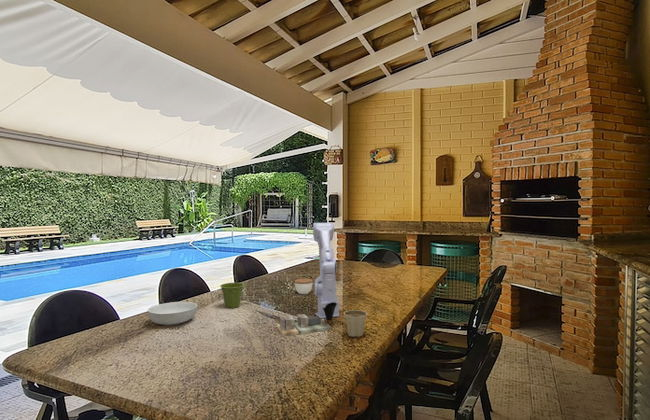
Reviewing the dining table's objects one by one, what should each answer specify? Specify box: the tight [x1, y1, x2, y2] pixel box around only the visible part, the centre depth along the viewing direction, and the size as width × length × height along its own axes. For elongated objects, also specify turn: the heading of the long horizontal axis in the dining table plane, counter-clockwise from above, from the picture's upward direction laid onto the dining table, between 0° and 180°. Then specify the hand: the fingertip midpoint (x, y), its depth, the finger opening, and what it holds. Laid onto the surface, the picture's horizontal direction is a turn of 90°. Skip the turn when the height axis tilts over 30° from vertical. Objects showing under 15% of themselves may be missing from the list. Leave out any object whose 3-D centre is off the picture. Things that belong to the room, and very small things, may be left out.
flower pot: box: [343, 309, 368, 338], centre depth 152 cm, size 9×9×9 cm
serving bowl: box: [147, 301, 198, 326], centre depth 170 cm, size 21×21×7 cm
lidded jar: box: [294, 276, 314, 295], centre depth 224 cm, size 11×11×9 cm
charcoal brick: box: [297, 315, 322, 327], centre depth 161 cm, size 9×3×3 cm, turn 111°
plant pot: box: [219, 282, 245, 309], centre depth 195 cm, size 12×12×11 cm
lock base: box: [276, 313, 332, 337], centre depth 160 cm, size 20×12×5 cm, turn 111°
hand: (329, 320), depth 164 cm, fingers closed
